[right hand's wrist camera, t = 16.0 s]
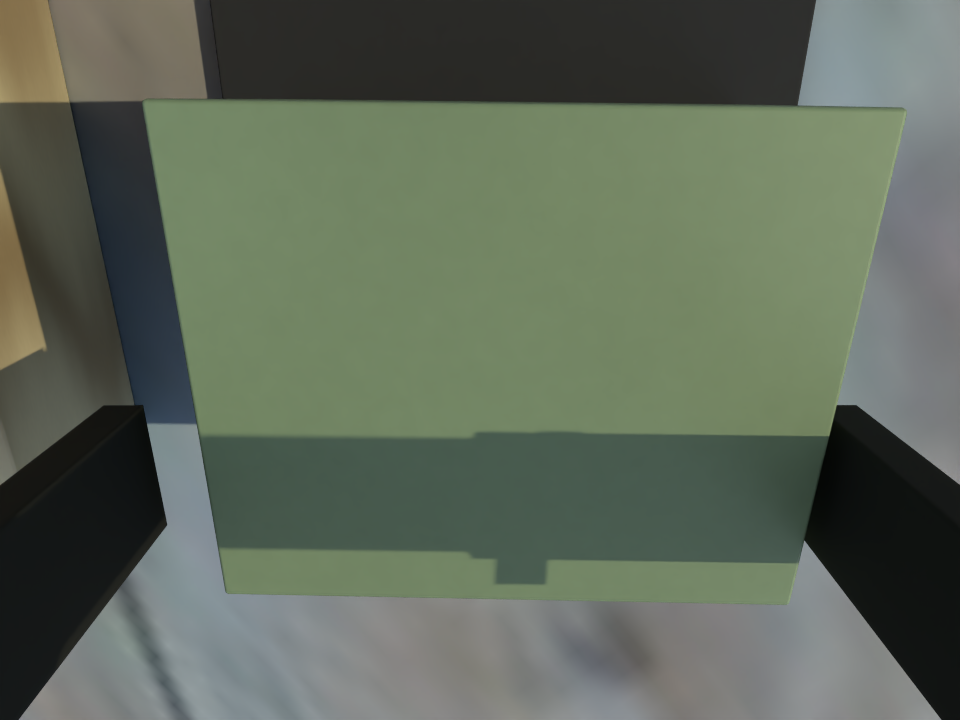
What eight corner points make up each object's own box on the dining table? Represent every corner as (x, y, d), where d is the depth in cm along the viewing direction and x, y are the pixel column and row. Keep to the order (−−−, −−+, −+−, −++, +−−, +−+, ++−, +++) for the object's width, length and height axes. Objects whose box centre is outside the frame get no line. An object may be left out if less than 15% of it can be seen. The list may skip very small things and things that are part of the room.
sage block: (688, 433, 19) (790, 606, 13) (315, 427, 19) (224, 595, 13) (736, 104, 16) (910, 108, 9) (284, 99, 16) (139, 98, 9)
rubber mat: (723, 498, 20) (727, 506, 20) (279, 492, 20) (275, 499, 20) (811, -11, 15) (819, -14, 15) (213, -13, 15) (206, -17, 15)
